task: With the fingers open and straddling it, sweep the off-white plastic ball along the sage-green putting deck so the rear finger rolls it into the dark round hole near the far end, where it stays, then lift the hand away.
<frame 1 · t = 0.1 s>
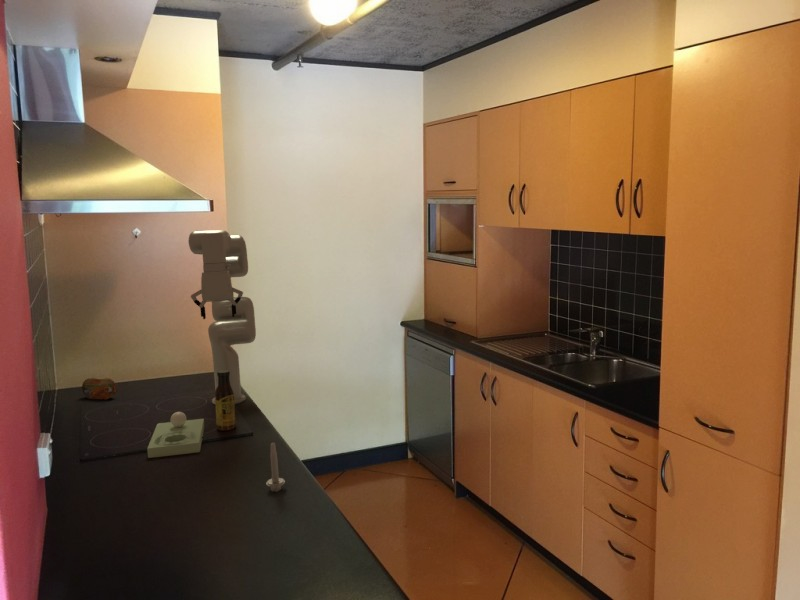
hand: (219, 317, 224), 37 cm above the counter, tool pointing down, fingers open, 9 cm apart
deck: (178, 441, 210), on the counter
ball: (178, 419, 215), point 5 cm above the counter, touching deck
tin: (100, 398, 264), on the counter
screw: (276, 490, 171), on the counter
sauce bottle: (226, 429, 221), on the counter
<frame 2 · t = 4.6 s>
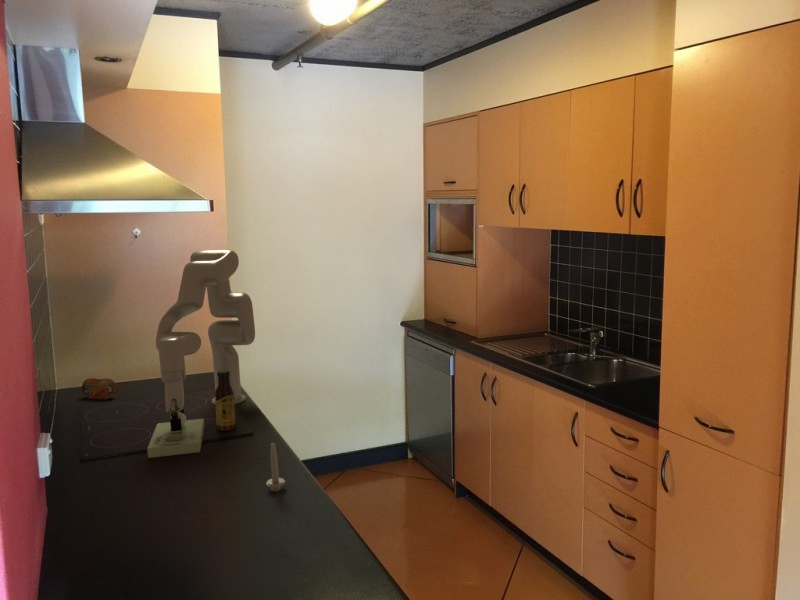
hand: (178, 425, 213), 4 cm above the counter, tool pointing down, fingers open, 9 cm apart
ball: (178, 419, 215), point 5 cm above the counter, tilted 9°, touching deck, gripper
everything else where it was.
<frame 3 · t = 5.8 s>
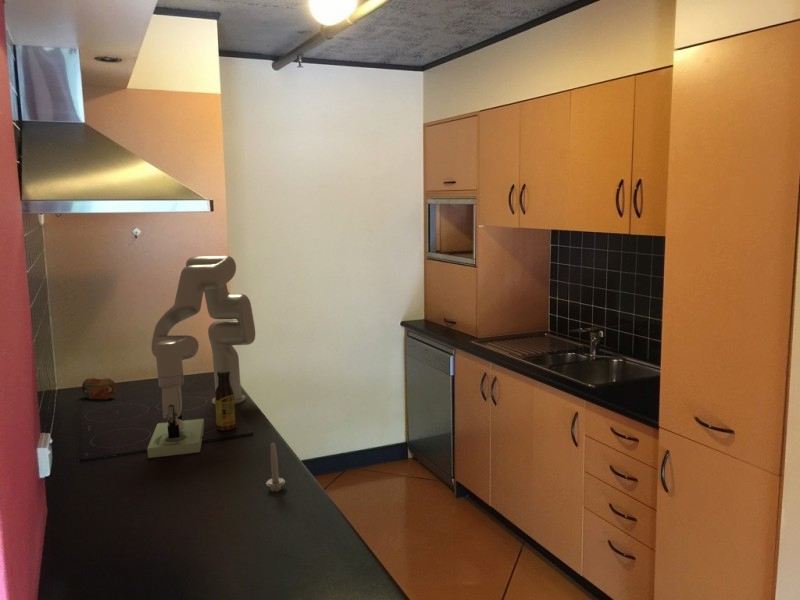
hand: (175, 432, 206), 4 cm above the counter, tool pointing down, fingers open, 9 cm apart
ball: (176, 426, 208), point 5 cm above the counter, tilted 144°, touching deck, gripper
everything else where it was.
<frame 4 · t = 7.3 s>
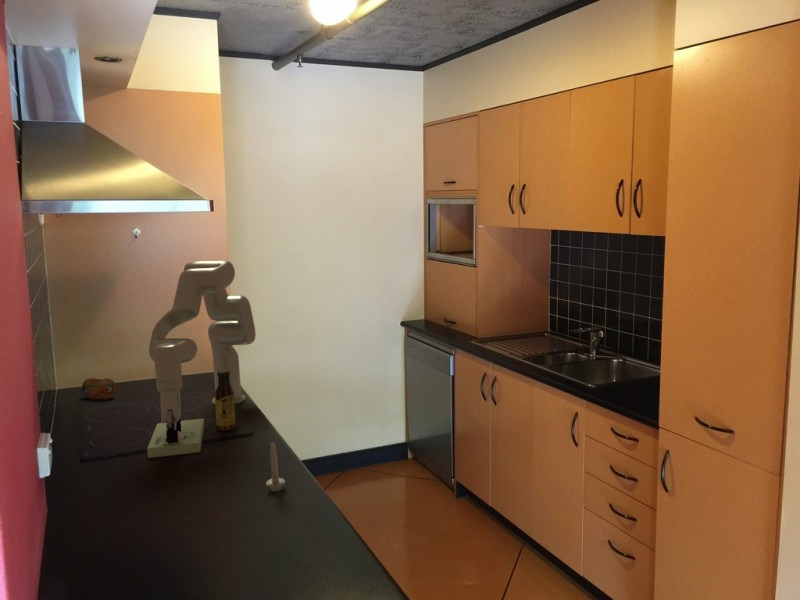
hand: (174, 437, 202), 4 cm above the counter, tool pointing down, fingers open, 9 cm apart
ball: (175, 438, 205), point 3 cm above the counter, tilted 108°, touching deck, gripper
everything else where it was.
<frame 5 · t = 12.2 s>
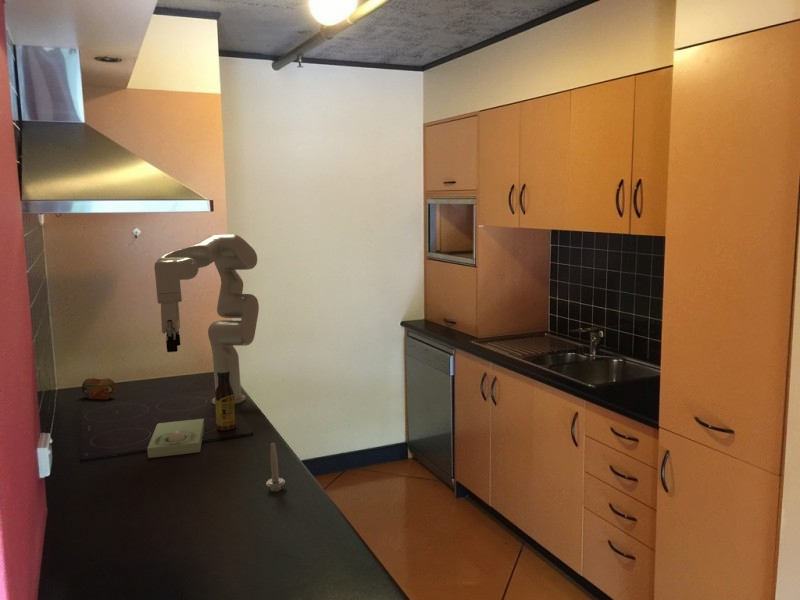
hand: (174, 348, 217), 28 cm above the counter, tool pointing down, fingers open, 9 cm apart
ball: (176, 438, 205), point 3 cm above the counter, tilted 105°, touching deck
everything else where it was.
at the end: ball 0.4 cm from the target spot on the deck, point 2.7 cm above the deck's base; ball moved 11.6 cm from its start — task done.
